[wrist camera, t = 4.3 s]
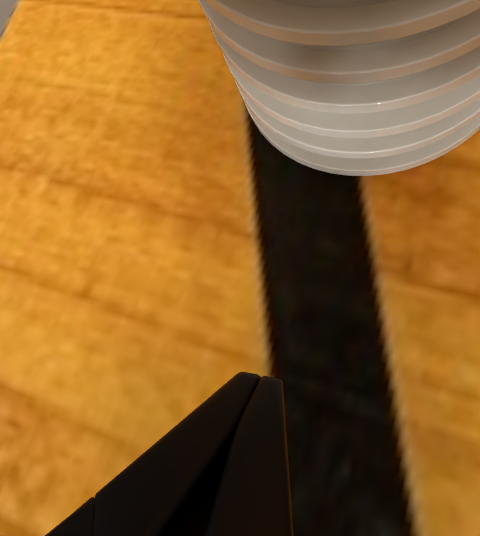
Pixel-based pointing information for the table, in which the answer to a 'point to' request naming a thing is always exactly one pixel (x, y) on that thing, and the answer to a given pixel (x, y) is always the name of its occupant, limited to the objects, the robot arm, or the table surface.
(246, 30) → the plate stack
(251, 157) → the table surface
